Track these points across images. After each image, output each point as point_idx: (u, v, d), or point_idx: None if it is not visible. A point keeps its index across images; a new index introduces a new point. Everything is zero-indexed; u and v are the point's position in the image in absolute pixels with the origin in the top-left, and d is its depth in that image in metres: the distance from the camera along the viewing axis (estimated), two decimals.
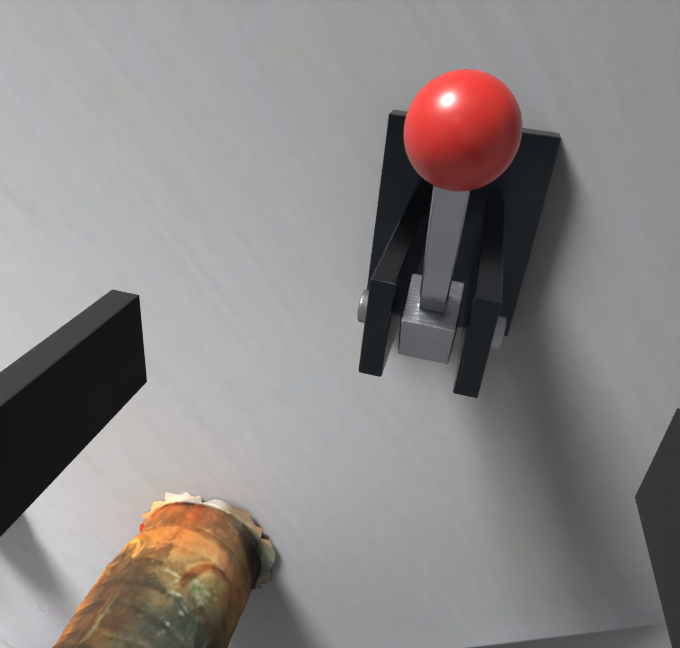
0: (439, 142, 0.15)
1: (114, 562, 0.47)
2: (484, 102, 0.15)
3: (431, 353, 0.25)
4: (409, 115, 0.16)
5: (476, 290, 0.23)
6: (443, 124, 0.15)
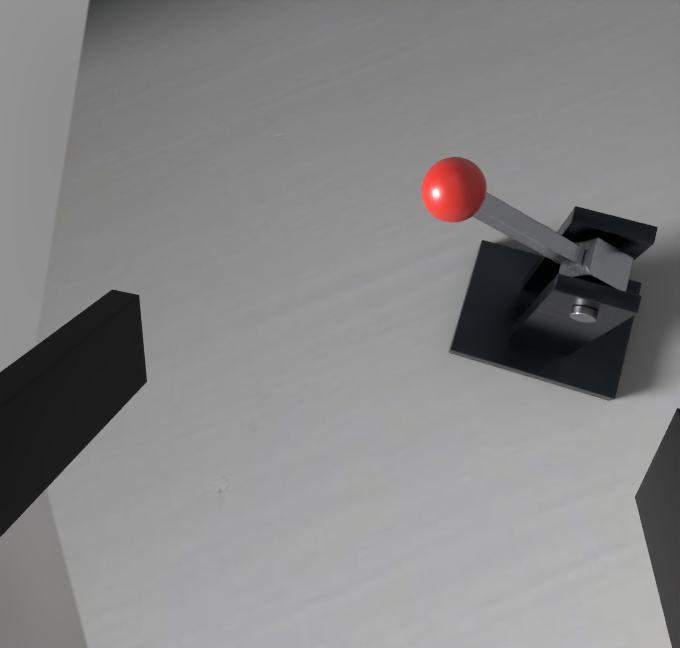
0: (455, 184, 0.28)
1: None
2: (438, 166, 0.29)
3: (622, 265, 0.33)
4: (439, 208, 0.29)
5: (567, 227, 0.33)
6: (445, 182, 0.28)
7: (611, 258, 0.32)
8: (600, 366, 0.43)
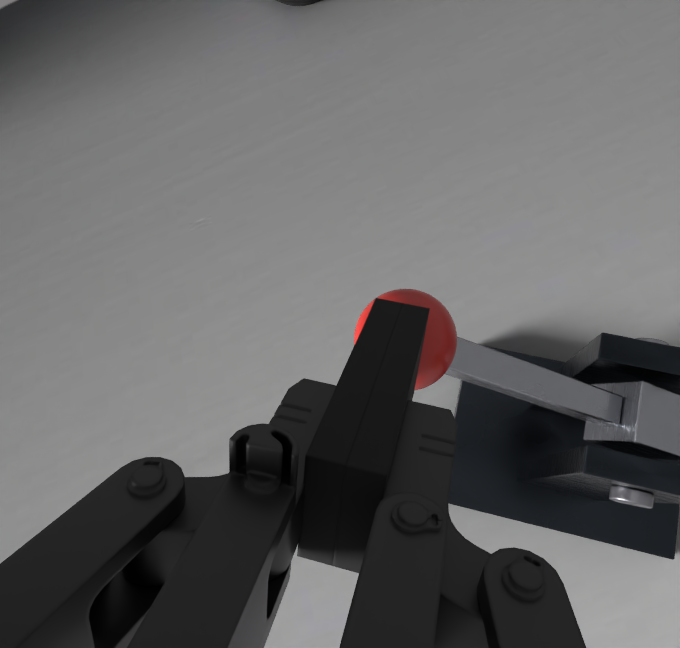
0: None
1: None
2: None
3: None
4: None
5: (592, 362, 0.22)
6: None
7: (666, 409, 0.21)
8: (648, 513, 0.31)
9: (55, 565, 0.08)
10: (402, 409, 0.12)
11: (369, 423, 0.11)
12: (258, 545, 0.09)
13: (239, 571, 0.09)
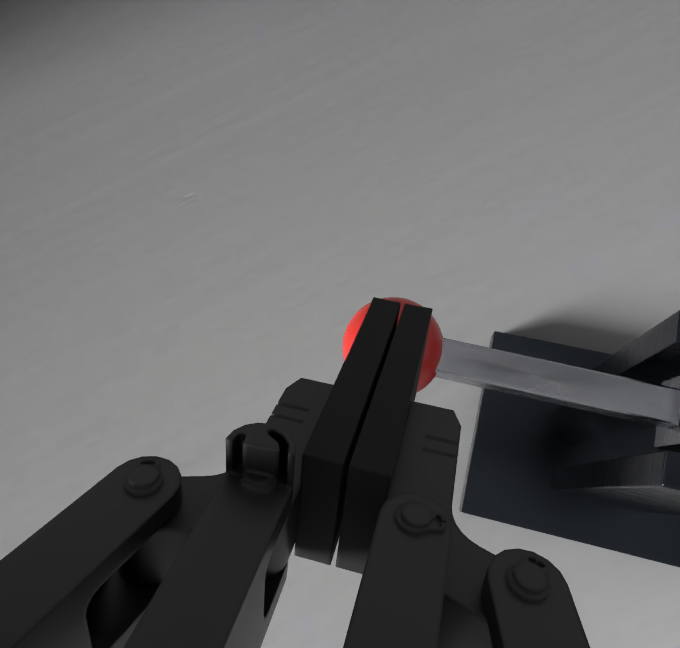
0: None
1: None
2: (351, 320, 0.19)
3: None
4: None
5: (665, 347, 0.17)
6: None
7: None
8: None
9: (52, 564, 0.08)
10: (405, 410, 0.12)
11: (372, 424, 0.11)
12: (255, 544, 0.09)
13: (236, 570, 0.09)
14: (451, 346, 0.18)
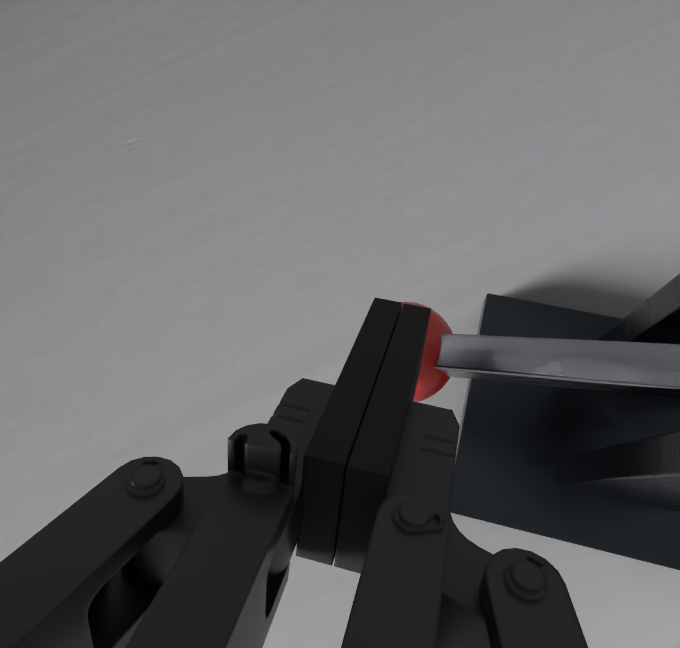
0: None
1: None
2: None
3: None
4: None
5: None
6: None
7: None
8: None
9: (53, 564, 0.08)
10: (404, 409, 0.12)
11: (371, 423, 0.11)
12: (257, 545, 0.09)
13: (238, 571, 0.09)
14: (449, 340, 0.17)
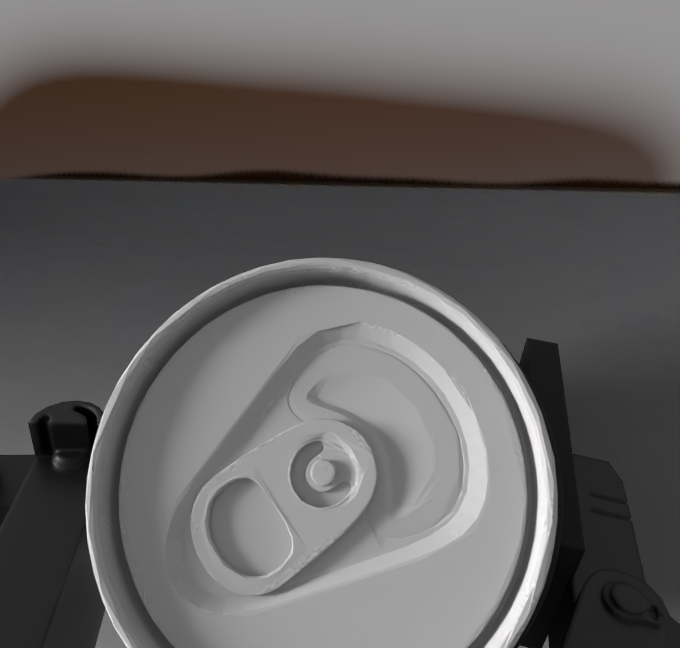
0: None
1: None
2: None
3: None
4: None
5: None
6: None
7: None
8: None
9: None
10: (572, 467, 0.11)
11: None
12: (75, 514, 0.09)
13: (58, 542, 0.09)
14: None
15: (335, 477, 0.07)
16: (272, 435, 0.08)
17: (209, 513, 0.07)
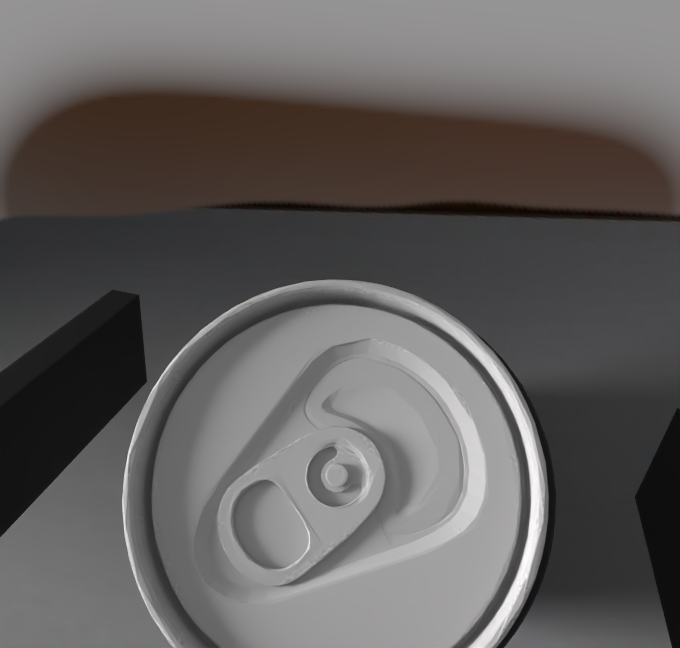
0: None
1: None
2: None
3: None
4: None
5: None
6: None
7: None
8: None
9: None
10: None
11: None
12: None
13: None
14: None
15: (347, 480, 0.08)
16: (290, 440, 0.08)
17: (234, 511, 0.08)
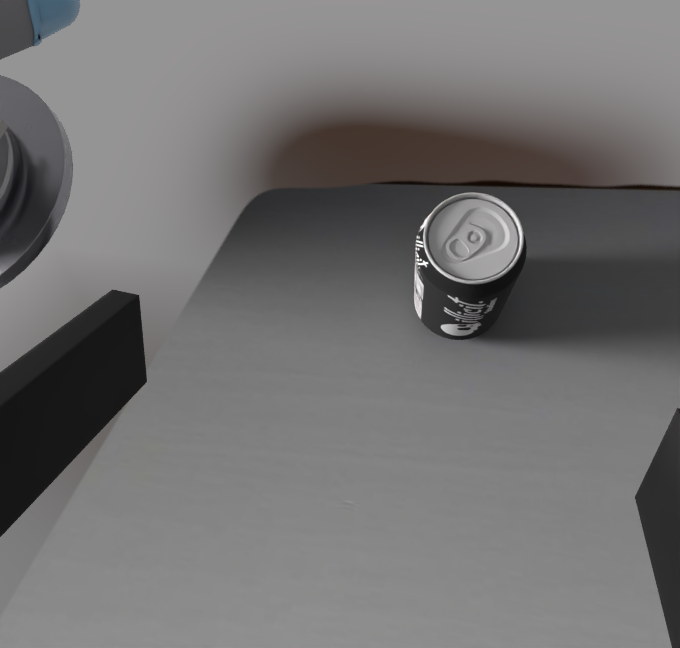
0: None
1: None
2: None
3: None
4: None
5: None
6: None
7: None
8: None
9: None
10: None
11: None
12: None
13: None
14: None
15: (476, 238, 0.35)
16: (461, 230, 0.35)
17: (449, 246, 0.35)
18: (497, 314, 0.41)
